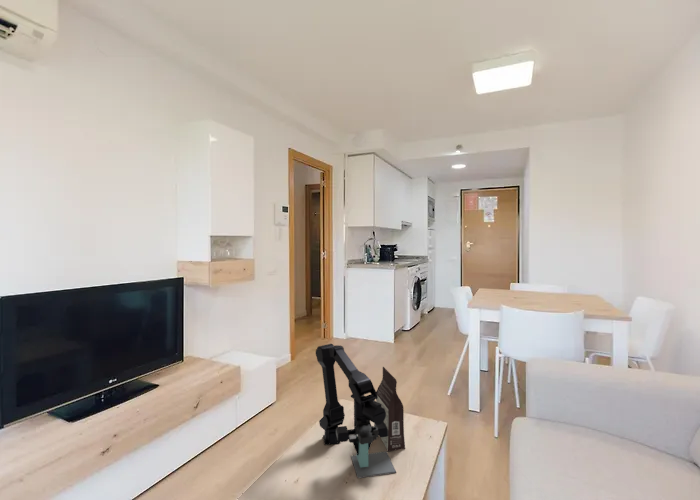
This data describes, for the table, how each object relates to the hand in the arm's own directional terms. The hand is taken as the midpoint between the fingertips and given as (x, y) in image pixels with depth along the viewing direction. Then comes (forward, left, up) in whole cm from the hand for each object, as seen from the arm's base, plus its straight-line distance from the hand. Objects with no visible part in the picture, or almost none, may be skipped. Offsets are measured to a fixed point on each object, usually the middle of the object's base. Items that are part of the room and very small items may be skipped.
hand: (362, 454), depth 130 cm
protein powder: (-15, +15, -5) cm, 22 cm away
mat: (0, +4, -4) cm, 6 cm away
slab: (0, 0, -2) cm, 3 cm away
